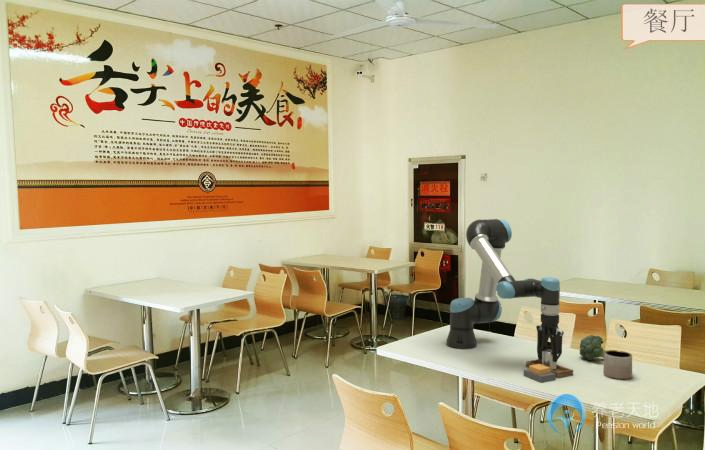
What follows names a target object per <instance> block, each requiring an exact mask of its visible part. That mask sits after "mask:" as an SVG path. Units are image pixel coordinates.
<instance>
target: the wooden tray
mask: <svg viewBox="0 0 705 450" xmlns="http://www.w3.org/2000/svg"><path fill="white" fill-rule="evenodd" d="M536 364H541V365H542V359H538V358H537V359H533V360H526V361H525V367H527V368H529V366H530V365H536ZM550 372H552V373H555V374H556V379H561V378H565V377H566V378H567V377H570V376H574V370H573V369H571V368H569V367H565V366H563V365H559V364H557V363H556V369H555V370H554V371H553V370H550Z"/></svg>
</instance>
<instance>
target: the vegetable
mask: <svg viewBox="0 0 705 450" xmlns="http://www.w3.org/2000/svg"><path fill="white" fill-rule="evenodd" d="M602 344H604V340H603V338H602V337H601V336H599V335H593V334H590V335H587V336H585V337H584V338H582V339H581V341H580V344H579V355H580V356H581V357H582V358H584V359H587V360H588V361H589V362H590V361H592V360H593V359H597V358H603V359H604V352H605V351H608V350H607V349H606V350H605V349H604V348H603V347H602Z"/></svg>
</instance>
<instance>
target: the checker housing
mask: <svg viewBox="0 0 705 450" xmlns="http://www.w3.org/2000/svg"><path fill="white" fill-rule="evenodd" d="M523 377H526V378H528V379H531V380H534V381H536V382H539V383H541V384H543V383H547V382H551V381H556V380H557V378H556V374H555V373H552V372H550V373H548V374H543V375H538V374H535V373H533V372H530V371H529V368H526V369H523Z"/></svg>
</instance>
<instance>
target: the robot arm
mask: <svg viewBox="0 0 705 450" xmlns="http://www.w3.org/2000/svg"><path fill="white" fill-rule="evenodd" d="M512 232H513V231H512V227H511V225H510V223H509V222H507V220H505V219H500V218H499V219H498V218H494V219H492V218H491V219H489V218H488V219H475V220H473V221H471V223H470V224H469V225H468V227H467V228H466V233H465V237H466V242H467V243H468V245H469V247H470V249H472V250H475V252H476V253H477V255H478V257H479V259H480V260H481V270H480V278H479V285H478V286H479V287H478V292H477V293H475V295H474V299H473V298H471V297H458V298H455V299H453V300H451V302H450V305H449V306H450V307H449V331H448V334H447V338H446V340H445V342H446V345H447V346H448V347H450V348H453V349H454V348H455V349H461V350H464V349H465V350H467V349H473V348H477V346H478V343H477V338H476V335H475V332H474V331H475V330H474V324H485V323H486V324H487V323H488V324H489V323H493V322H496V321H498V320H499V319H500V318H501V316H502V313H503V311H502V310H503V309H502V308H503V307H502V304H501V301H500V300H499V298H500V299H502V300H503V299H507V300H508V299H509V300H512V299H517V298H533V297H534V298H539V299H540V323H541V324H540V325H536V327H535V328H536V331H537V332H536V333H537V334H536V336H537V342H538V348H540V349H541V357H542V365H544V350H548V349H547V345H548V342H551V349H552V353H551V356H550V369H556V364H557V362H558V360H557V356H558V354H560V353H563V337H564V331H563V330H560V329H559V324H560V315H559V314H560V292H561V287H560V285H561V284H560V279H559V278H557V277H542V278H541V279H540V280H539V279H535V278H525V279H524V280H523V279H522V280H515V277H514V276H513V275H512V273H511V272H510V270H509V269H508V268H507V266H506V265H505V263H504V262H503V261H502V259H501V257H502V250H503V249H505V247H506V243H507V244H508V242H509V241H511V239H512V235H513V233H512ZM549 339H550V341H549Z"/></svg>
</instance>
